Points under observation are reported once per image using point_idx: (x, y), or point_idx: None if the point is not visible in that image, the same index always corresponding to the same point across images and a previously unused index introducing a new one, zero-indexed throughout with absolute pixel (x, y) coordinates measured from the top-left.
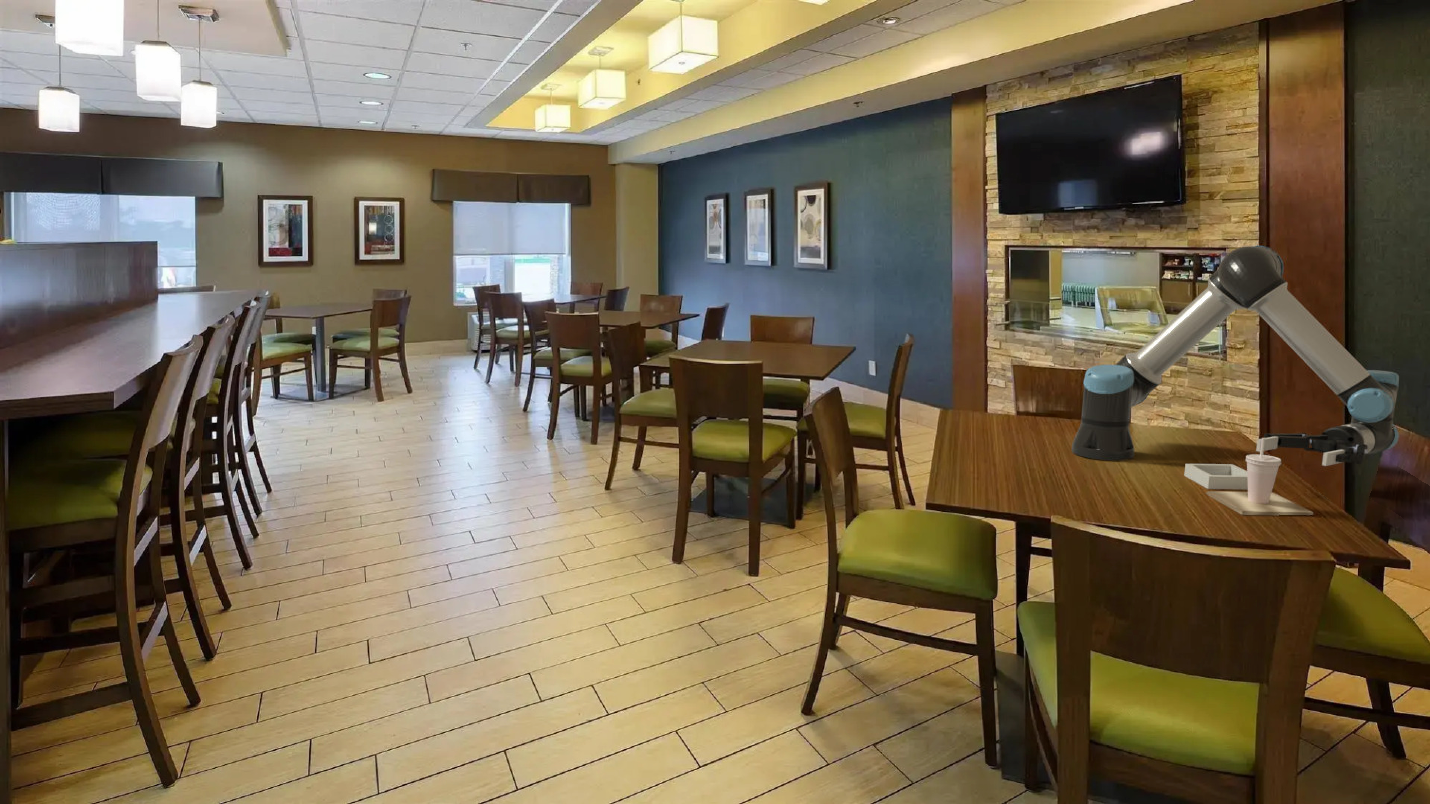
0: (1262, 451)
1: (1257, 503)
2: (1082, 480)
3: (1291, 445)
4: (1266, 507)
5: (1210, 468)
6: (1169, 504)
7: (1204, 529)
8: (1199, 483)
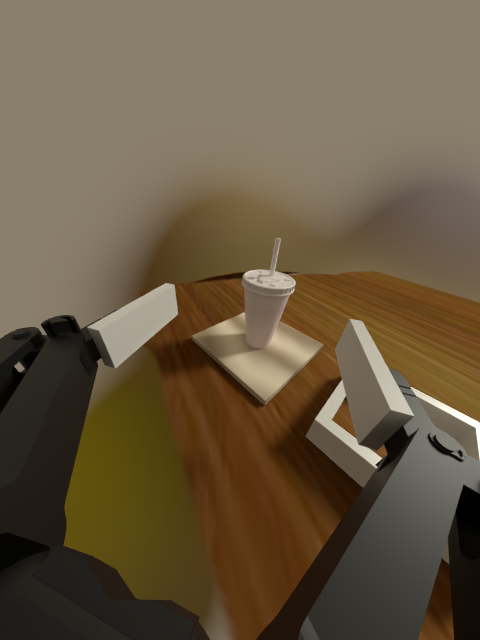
0: (272, 264)
1: None
2: (420, 324)
3: (342, 522)
4: (241, 325)
5: None
6: (311, 307)
7: None
8: None
